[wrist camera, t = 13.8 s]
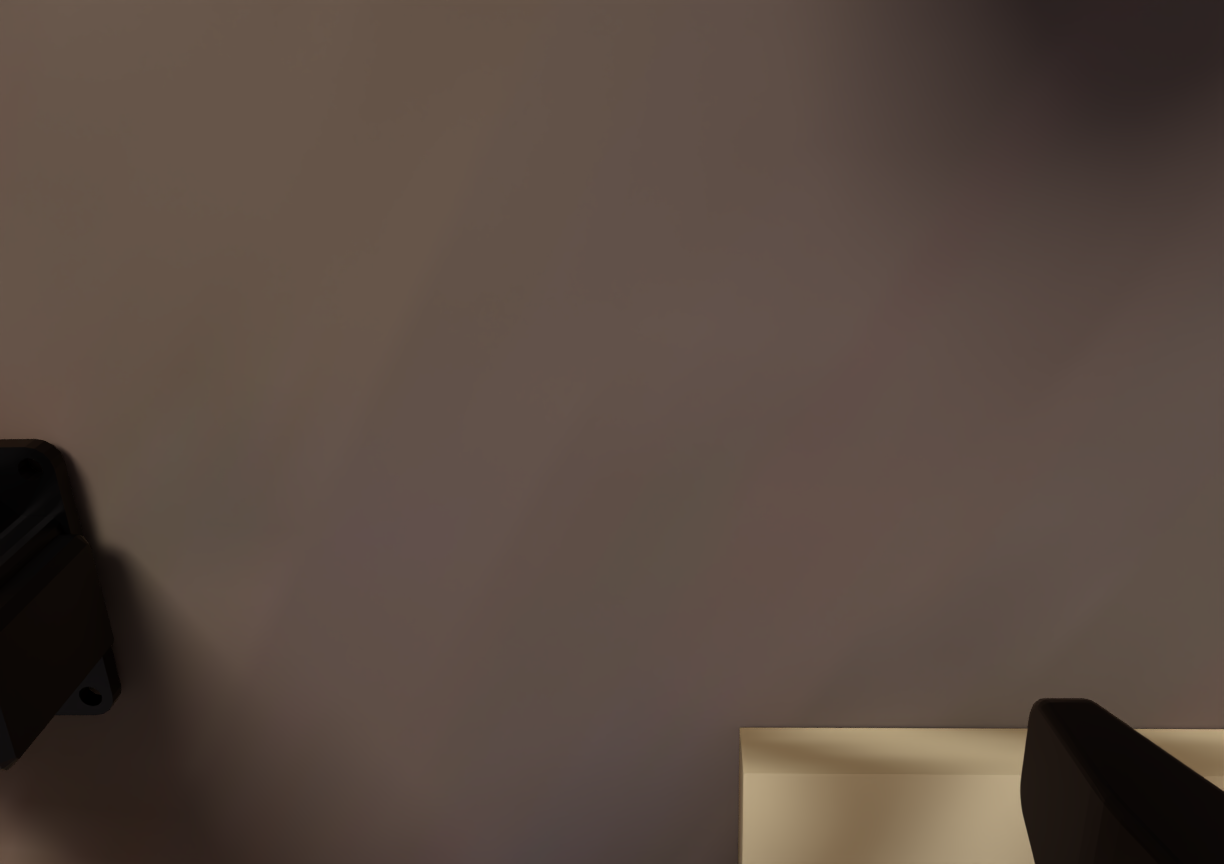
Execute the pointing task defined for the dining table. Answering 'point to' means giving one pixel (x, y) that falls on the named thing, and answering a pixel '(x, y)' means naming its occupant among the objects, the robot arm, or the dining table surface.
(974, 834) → the puzzle board
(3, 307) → the dining table surface
